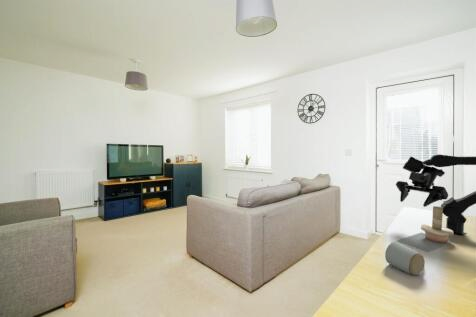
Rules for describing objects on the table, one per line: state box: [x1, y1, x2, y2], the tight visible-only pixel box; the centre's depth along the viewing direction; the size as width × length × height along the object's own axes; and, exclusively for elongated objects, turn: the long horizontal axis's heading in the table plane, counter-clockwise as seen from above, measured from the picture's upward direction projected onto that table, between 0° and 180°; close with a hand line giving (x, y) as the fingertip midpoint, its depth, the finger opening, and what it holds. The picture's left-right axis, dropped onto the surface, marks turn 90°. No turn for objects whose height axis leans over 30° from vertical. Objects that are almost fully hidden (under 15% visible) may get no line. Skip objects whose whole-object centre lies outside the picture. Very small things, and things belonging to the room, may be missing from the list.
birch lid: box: [420, 206, 454, 237], centre depth 92 cm, size 10×10×10 cm
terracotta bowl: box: [424, 231, 449, 243], centre depth 93 cm, size 7×7×4 cm
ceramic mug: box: [384, 241, 426, 276], centre depth 72 cm, size 11×8×8 cm
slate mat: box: [396, 232, 453, 253], centre depth 92 cm, size 20×11×1 cm, turn 117°
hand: (412, 203), depth 101 cm, fingers open, 9 cm apart
